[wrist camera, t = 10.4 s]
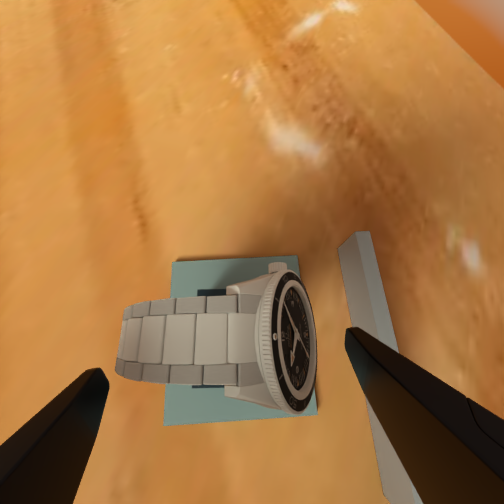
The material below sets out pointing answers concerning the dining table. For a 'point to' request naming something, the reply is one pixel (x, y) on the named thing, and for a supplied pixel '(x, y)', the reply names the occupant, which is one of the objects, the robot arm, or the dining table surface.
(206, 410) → the mat
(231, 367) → the watch
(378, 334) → the acrylic wall
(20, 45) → the dining table surface
